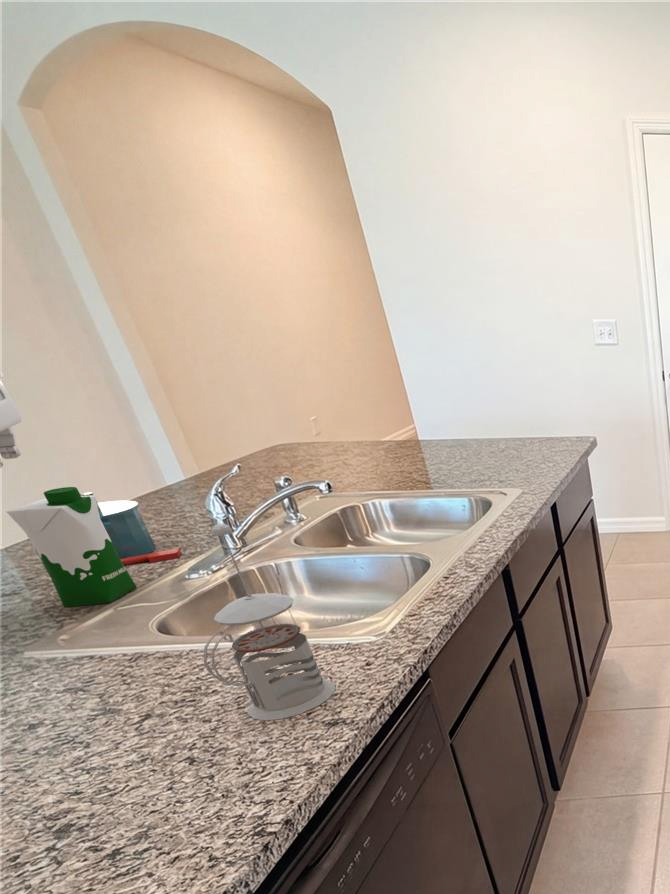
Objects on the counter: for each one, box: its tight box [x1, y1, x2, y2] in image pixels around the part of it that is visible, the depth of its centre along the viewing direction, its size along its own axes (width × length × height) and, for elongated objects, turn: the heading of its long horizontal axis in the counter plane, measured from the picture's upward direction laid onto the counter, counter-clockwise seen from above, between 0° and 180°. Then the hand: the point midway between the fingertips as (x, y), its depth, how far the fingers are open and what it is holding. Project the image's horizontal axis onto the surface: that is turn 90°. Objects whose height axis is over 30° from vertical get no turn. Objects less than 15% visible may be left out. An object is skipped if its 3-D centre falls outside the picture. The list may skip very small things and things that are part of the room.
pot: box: [101, 508, 156, 559], centre depth 136 cm, size 13×18×10 cm
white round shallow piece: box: [80, 492, 140, 519], centre depth 133 cm, size 14×14×5 cm
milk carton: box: [6, 486, 138, 608], centre depth 115 cm, size 9×9×20 cm
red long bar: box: [121, 547, 182, 566], centre depth 133 cm, size 16×3×1 cm, turn 125°
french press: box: [202, 523, 336, 722], centre depth 82 cm, size 10×12×25 cm
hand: (3, 463), depth 100 cm, fingers open, 7 cm apart
